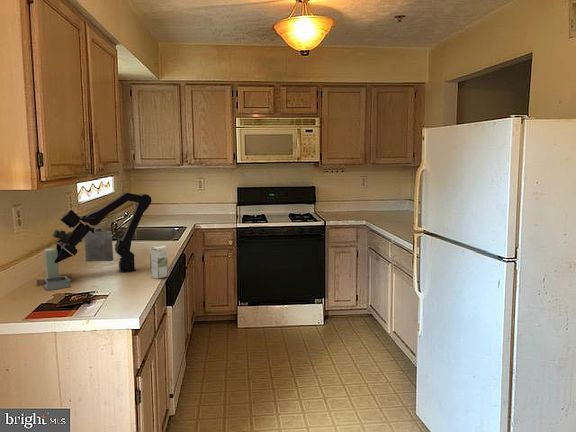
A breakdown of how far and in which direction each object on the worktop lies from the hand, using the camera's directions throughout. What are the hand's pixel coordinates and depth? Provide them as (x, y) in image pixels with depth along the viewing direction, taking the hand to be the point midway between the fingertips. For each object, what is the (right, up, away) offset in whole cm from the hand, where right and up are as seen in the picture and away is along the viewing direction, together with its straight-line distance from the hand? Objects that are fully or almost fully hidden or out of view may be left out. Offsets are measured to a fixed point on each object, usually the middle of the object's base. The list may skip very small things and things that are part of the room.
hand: (53, 260), depth 217 cm
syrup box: (+47, -8, +5) cm, 48 cm away
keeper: (+7, -10, -10) cm, 16 cm away
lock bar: (0, -9, +1) cm, 9 cm away
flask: (+5, -4, +41) cm, 42 cm away
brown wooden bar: (+3, -9, -4) cm, 11 cm away
